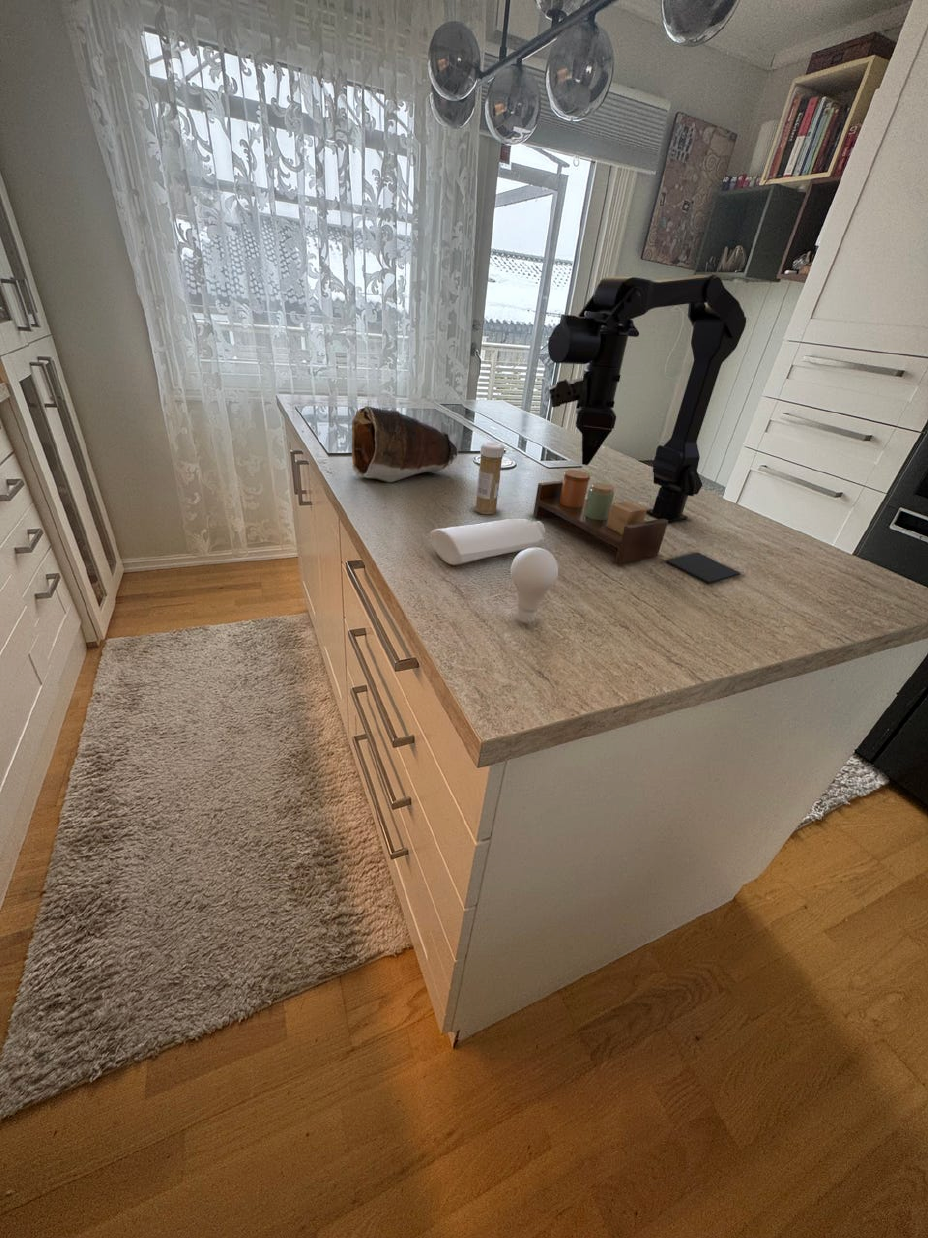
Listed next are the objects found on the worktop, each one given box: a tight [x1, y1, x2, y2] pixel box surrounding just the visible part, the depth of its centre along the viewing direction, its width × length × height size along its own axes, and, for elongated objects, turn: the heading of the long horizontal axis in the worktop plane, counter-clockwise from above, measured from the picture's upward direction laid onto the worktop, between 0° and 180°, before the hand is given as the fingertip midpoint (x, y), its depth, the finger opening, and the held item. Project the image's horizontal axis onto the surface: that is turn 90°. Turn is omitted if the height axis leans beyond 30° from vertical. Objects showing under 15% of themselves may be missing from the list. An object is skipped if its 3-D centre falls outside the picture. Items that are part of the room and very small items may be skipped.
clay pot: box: [351, 406, 459, 484], centre depth 121 cm, size 15×15×25 cm
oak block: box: [606, 500, 648, 534], centre depth 93 cm, size 4×4×4 cm
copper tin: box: [559, 469, 591, 508], centre depth 102 cm, size 5×5×6 cm
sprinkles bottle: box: [474, 442, 505, 515], centre depth 103 cm, size 5×5×13 cm
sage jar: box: [584, 482, 615, 520], centre depth 97 cm, size 5×5×6 cm
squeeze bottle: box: [430, 518, 546, 566], centre depth 89 cm, size 10×20×5 cm, turn 122°
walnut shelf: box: [532, 479, 669, 566], centre depth 99 cm, size 10×24×7 cm, turn 32°
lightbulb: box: [510, 546, 559, 624], centre depth 68 cm, size 6×6×11 cm
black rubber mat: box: [665, 552, 741, 585], centre depth 92 cm, size 9×9×1 cm
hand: (584, 458), depth 95 cm, fingers open, 9 cm apart
